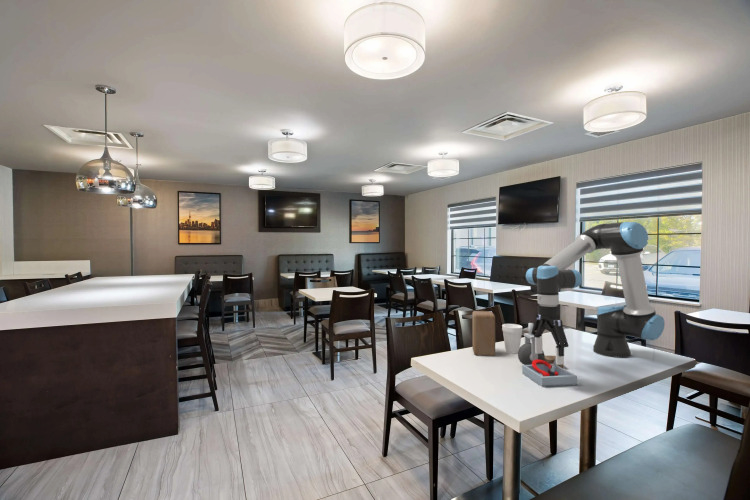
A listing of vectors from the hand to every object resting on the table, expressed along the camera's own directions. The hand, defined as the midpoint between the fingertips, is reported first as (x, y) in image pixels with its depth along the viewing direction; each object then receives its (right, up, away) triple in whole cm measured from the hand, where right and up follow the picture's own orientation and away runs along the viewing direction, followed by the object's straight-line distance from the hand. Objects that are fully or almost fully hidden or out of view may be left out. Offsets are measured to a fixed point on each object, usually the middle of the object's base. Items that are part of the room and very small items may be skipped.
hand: (548, 358), depth 136 cm
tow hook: (-1, -6, +4) cm, 7 cm away
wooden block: (-15, -8, +35) cm, 39 cm away
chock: (+9, -8, +15) cm, 19 cm away
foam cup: (0, -8, +36) cm, 37 cm away
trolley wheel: (-1, -8, +14) cm, 16 cm away
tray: (0, -8, 0) cm, 8 cm away
